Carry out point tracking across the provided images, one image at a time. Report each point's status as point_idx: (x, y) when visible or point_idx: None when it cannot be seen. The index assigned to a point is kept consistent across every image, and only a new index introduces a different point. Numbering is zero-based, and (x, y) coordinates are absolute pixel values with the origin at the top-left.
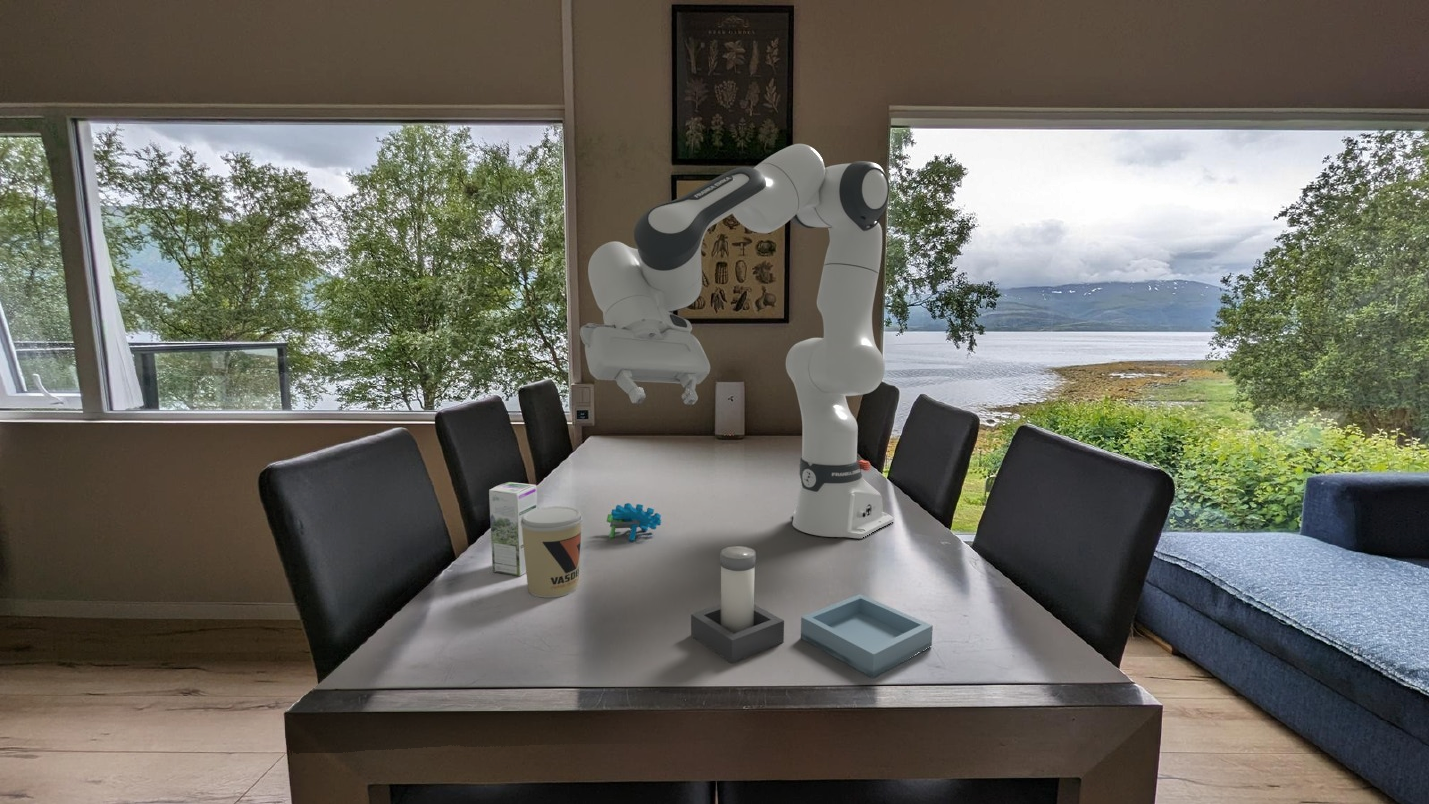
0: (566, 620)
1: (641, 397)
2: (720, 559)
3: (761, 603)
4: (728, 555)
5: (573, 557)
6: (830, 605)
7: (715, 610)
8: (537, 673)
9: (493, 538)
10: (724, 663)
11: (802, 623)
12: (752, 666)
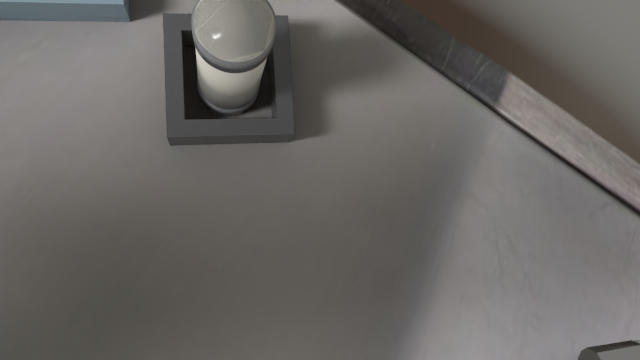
0: (447, 315)
1: (621, 342)
2: (268, 52)
3: (92, 170)
4: (265, 22)
5: None
6: (33, 2)
7: (247, 119)
8: (531, 176)
9: None
10: (292, 39)
11: (125, 5)
12: None
